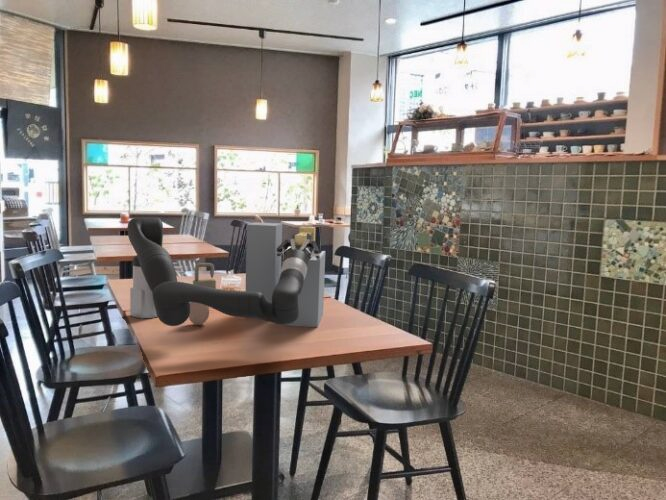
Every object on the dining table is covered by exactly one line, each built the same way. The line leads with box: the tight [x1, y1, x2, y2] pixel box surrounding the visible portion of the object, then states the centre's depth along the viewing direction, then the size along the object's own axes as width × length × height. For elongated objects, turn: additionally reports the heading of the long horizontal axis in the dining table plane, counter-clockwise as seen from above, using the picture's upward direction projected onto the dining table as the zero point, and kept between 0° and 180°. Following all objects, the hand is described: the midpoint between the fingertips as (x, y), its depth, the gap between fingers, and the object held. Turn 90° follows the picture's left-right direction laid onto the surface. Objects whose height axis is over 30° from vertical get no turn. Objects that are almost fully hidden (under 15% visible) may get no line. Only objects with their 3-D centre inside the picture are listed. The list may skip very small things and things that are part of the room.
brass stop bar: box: [295, 226, 316, 246], centre depth 181 cm, size 20×5×5 cm, turn 175°
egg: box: [188, 302, 210, 326], centre depth 175 cm, size 7×7×9 cm
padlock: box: [192, 262, 217, 289], centre depth 209 cm, size 4×8×15 cm, turn 119°
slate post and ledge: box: [244, 221, 326, 328], centre depth 187 cm, size 20×26×32 cm
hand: (302, 235), depth 175 cm, fingers closed on brass stop bar, 3 cm apart
